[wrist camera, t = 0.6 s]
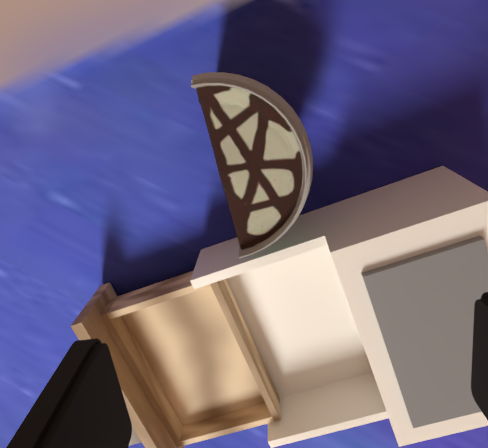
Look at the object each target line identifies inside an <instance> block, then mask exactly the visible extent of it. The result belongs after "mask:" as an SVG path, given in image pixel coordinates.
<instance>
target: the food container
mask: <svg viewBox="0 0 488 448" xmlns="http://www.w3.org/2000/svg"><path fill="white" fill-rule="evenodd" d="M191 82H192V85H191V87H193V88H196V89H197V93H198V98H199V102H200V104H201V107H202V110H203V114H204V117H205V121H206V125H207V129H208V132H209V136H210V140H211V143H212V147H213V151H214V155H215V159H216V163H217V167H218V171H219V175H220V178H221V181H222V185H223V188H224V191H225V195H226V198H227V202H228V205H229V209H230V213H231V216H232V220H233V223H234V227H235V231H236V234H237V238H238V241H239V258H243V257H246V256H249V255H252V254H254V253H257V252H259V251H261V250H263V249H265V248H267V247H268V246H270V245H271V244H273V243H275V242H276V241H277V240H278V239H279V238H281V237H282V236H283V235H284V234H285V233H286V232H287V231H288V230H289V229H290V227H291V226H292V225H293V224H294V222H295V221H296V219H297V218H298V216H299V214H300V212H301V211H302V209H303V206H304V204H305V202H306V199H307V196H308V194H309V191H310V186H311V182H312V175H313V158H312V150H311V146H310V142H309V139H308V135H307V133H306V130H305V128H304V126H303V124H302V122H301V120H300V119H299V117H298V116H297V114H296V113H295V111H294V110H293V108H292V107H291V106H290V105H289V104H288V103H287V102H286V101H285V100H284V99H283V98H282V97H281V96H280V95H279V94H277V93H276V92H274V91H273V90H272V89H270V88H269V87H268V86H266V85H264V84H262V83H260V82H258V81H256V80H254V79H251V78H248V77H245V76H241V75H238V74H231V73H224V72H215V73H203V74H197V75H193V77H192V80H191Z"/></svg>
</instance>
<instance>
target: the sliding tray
mask: <svg viewBox="0 0 488 448" xmlns="http://www.w3.org/2000/svg"><path fill="white" fill-rule="evenodd" d="M192 274H193V271H191V272H188V273H185V274H182V275H179V276H176V277H173V278H170V279H167V280H164V281H161V282H158V283H155V284H152V285H150V286H147V287H144V288H141V289H138V290H135V291H132V292H129V293H126V294H123V295H120V296H117V294H116V293H115V291H114V289H113V287H112V285H111V283H110V282H109V283H106V284H104V285H101V286H100V287H99V288H98V290H97V291H96V292H95V294H94V295H93V296H92V298H91V299H90V301H89V302H88V303H87V305H86V306H85V307H84V309H83V310H82V311H81V313H80V314H79V315H78V317H77V318H76V319H75V321H74V322H73V324H72V325H71V327H72V329H73V331H74V332H75V334H76V336H77V337H78V339H79V340H87V339H95V338H97V339H99V340H100V341H101V343H106V344H107V345H108V347H109V350H110V353H111V357H112V360H113V363H114V367H115V370H116V373H117V377H118V380H119V383H120V387H121V390H122V393H123V397H124V400H125V403H126V407H127V410H128V413H129V417H130V420H131V424H132V435H131V439H130V442H129V445H133V444H137V443H140V442H142V443H143V445H144V446H145V448H184V445H188V444H192V443H195V442H199V441H203V440H207V439H211V438H214V437H218V436H222V435H226V434H230V433H233V432H237V431H241V430H245V429H249V428H252V427H256V426H260V425H264V424H267V423H271V422H275V421H279V420H280V399H279V395H278V393H277V390H276V388H275V386H274V384H273V382H272V379H271V377H270V375H269V373H268V371H267V368H266V366H265V364H264V362H263V360H262V357H261V355H260V353H259V351H258V348H257V346H256V344H255V342H254V340H253V337H252V335H251V333H250V331H249V329H248V326H247V324H246V322H245V320H244V318H243V315H242V313H241V311H240V309H239V306H238V304H237V302H236V300H235V298H234V295H233V293H232V291H231V289H230V287H229V284H228V282H227V280H226V279H224V280H221V281H218V282H215V283H211V284H208V285H205V286H202V287H199V288H196V289H194V288H193V286H192V284H191V282H190V279H191V277H192Z"/></svg>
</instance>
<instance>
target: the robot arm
mask: <svg viewBox="0 0 488 448" xmlns="http://www.w3.org/2000/svg"><path fill="white" fill-rule="evenodd" d="M471 392H472V395H473V398H474V400H475V402H476V404H477V405H478V407H479V408H480V410H481V411H482V413H483V414H484V416H485V417H486V419H487V420H488V292H485V293H483V294H482V296H481V299H477V300H476V301H475V305H474V326H473V348H472V370H471ZM131 435H132V424H131V420H130V417H129V413H128V410H127V407H126V403H125V400H124V397H123V393H122V390H121V387H120V383H119V380H118V377H117V373H116V370H115V367H114V363H113V360H112V357H111V353H110V350H109V347H108V345H107V344H106V343H101V341H100V340H99V339H97V338H95V339H87V340H78V341H75V342H74V343H73V344H72V346H71V347H70V349H69V350H68V352H67V354H66V355H65V357H64V358H63V360H62V361H61V363H60V365H59V366H58V368H57V369H56V371H55V372H54V374H53V375H52V377H51V379H50V380H49V382H48V383H47V385H46V386H45V388H44V390H43V391H42V393H41V394H40V396H39V397H38V399H37V401H36V402H35V404H34V405H33V407H32V408H31V410H30V412H29V413H28V415H27V416H26V418H25V419H24V421H23V423H22V424H21V426H20V427H19V429H18V430H17V432H16V434H15V435H14V437H13V438H12V440H11V441H10V443H9V445H8V446H7V448H128V446H129V442H130V439H131Z"/></svg>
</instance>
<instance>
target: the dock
mask: <svg viewBox="0 0 488 448" xmlns="http://www.w3.org/2000/svg"><path fill="white" fill-rule="evenodd" d="M224 279H226V280H227V282H228V284H229V287H230V289H231V291H232V293H233V295H234V298H235V300H236V302H237V304H238V306H239V309H240V311H241V313H242V315H243V318H244V320H245V322H246V324H247V326H248V329H249V331H250V333H251V335H252V337H253V340H254V342H255V344H256V346H257V348H258V351H259V353H260V355H261V357H262V360H263V362H264V364H265V366H266V368H267V371H268V373H269V375H270V377H271V379H272V382H273V384H274V386H275V388H276V390H277V393H278V395H279V399H280V420H279V421H275V422H271V423H268V443H269V445H270V447H271V448H273V447H276V446H280V445H284V444H288V443H292V442H296V441H300V440H304V439H308V438H312V437H316V436H320V435H324V434H328V433H332V432H336V431H340V430H344V429H348V428H352V427H356V426H360V425H363V424H367V423H371V422H375V421H379V420H383V419H387V418H389V420H390V423H391V425H392V428H393V431H394V434H395V437H396V440H397V442H398V445H399V447H400V446H404V445H408V444H413V443H417V442H421V441H425V440H429V439H433V438H438V437H442V436H446V435H450V434H454V433H458V432H463V431H467V430H471V429H475V428H479V427H483V426H487V425H488V420H487V419H486V417H485V416H484V414H483V413H482V411H481V410H480V408H479V407H478V405H477V404H476V402H475V400H474V398H473V395H472V392H471V370H472V348H473V326H474V305H475V301H476V300H477V299H481V296H482V294H483V293H485V292H488V192H487V191H486V190H484V189H482V188H481V187H479V186H477V185H475V184H474V183H472V182H470V181H469V180H467V179H465V178H463V177H462V176H460V175H458V174H457V173H455V172H453V171H451V170H450V169H448V168H446V167H445V166H440V167H437V168H435V169H432V170H429V171H426V172H423V173H420V174H417V175H414V176H411V177H409V178H406V179H403V180H400V181H397V182H394V183H391V184H388V185H386V186H383V187H380V188H377V189H374V190H371V191H368V192H365V193H362V194H360V195H357V196H354V197H351V198H348V199H345V200H342V201H339V202H337V203H334V204H331V205H328V206H325V207H322V208H319V209H316V210H313V211H311V212H308V213H305V214H302V215H299V216H298V218H297V219H296V221H295V222H294V224H293V225H292V226H291V227H290V229H289V230H288V231H287V232H286V233H285V234H284V235H283V236H282V237H281V238H279V239H278V240H277V241H276V242H275V243H273V244H271V245H270V246H268V247H267V248H265V249H263V250H261V251H259V252H257V253H254V254H252V255H249V256H246V257H243V258H239V241H238V238H237V237H236V238H233V239H230V240H227V241H224V242H221V243H218V244H216V245H213V246H210V247H207V248H204V249H201V251H200V253H199V256H198V259H197V262H196V265H195V268H194V271H193V274H192V277H191V279H190V282H191V284H192V286H193V288H194V289H196V288H199V287H202V286H205V285H208V284H211V283H215V282H218V281H221V280H224Z"/></svg>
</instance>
